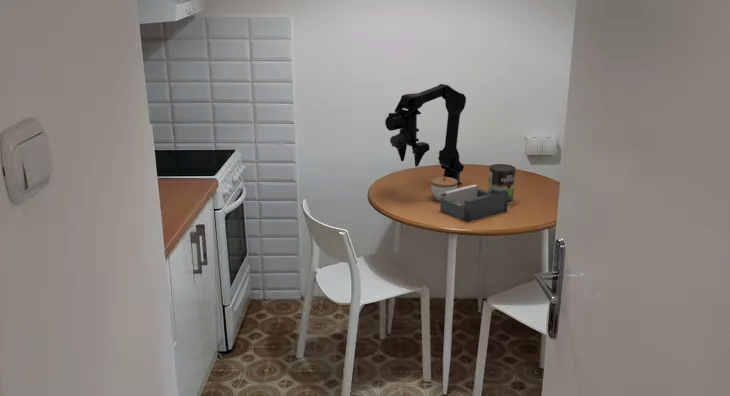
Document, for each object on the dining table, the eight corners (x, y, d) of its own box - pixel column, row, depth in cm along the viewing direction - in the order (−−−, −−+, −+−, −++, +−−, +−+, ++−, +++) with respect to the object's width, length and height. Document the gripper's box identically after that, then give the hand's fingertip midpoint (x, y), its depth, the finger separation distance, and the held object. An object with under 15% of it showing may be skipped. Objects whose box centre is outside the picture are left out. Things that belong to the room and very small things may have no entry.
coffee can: (518, 202, 284) (521, 169, 279) (497, 206, 279) (500, 172, 274) (502, 195, 292) (504, 162, 288) (481, 199, 288) (484, 165, 283)
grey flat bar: (473, 198, 285) (474, 184, 283) (477, 200, 284) (477, 185, 282) (439, 207, 275) (440, 192, 273) (442, 208, 274) (443, 194, 272)
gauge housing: (479, 200, 286) (480, 181, 283) (506, 211, 274) (508, 191, 272) (440, 210, 274) (440, 191, 272) (466, 222, 263) (467, 202, 260)
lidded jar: (445, 192, 295) (446, 171, 292) (462, 200, 286) (463, 178, 283) (425, 197, 289) (425, 175, 286) (441, 205, 281) (442, 182, 278)
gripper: (379, 125, 286) (379, 162, 291) (408, 134, 272) (408, 173, 277) (401, 120, 292) (401, 157, 297) (430, 129, 278) (430, 167, 283)
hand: (409, 163), depth 288 cm, fingers open, 9 cm apart
